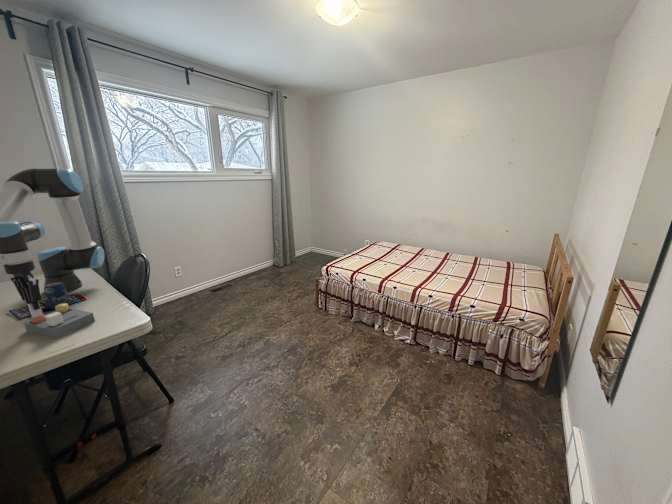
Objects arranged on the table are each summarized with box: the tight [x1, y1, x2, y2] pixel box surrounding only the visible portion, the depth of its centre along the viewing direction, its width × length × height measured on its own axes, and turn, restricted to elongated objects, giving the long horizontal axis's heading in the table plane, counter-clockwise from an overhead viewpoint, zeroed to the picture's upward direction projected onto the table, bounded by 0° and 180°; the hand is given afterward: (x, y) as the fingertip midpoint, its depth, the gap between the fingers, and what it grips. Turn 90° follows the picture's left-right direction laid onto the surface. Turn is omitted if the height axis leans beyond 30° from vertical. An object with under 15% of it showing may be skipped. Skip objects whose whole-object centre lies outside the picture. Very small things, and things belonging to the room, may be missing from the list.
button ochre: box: [54, 303, 70, 313], centre depth 118 cm, size 4×4×3 cm
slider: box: [45, 312, 64, 326], centre depth 108 cm, size 3×4×4 cm
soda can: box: [43, 282, 71, 310], centre depth 129 cm, size 7×7×12 cm
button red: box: [30, 313, 46, 324], centre depth 111 cm, size 4×4×3 cm
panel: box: [23, 307, 96, 340], centre depth 113 cm, size 18×14×4 cm
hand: (37, 316), depth 110 cm, fingers closed
